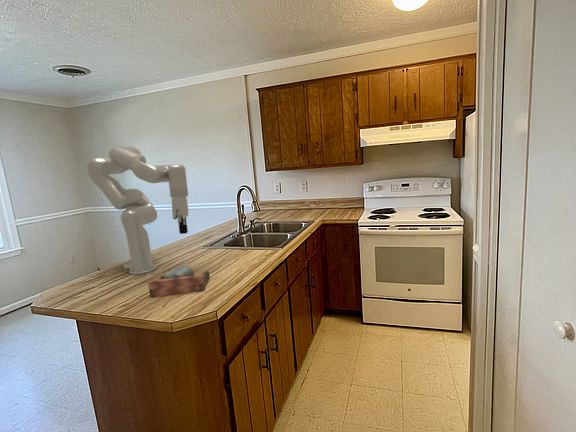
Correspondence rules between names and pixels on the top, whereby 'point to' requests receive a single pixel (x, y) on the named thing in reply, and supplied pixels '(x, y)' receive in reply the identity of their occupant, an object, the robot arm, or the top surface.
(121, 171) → the robot arm
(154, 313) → the top surface
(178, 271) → the grey rounded piece
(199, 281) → the guide channel
